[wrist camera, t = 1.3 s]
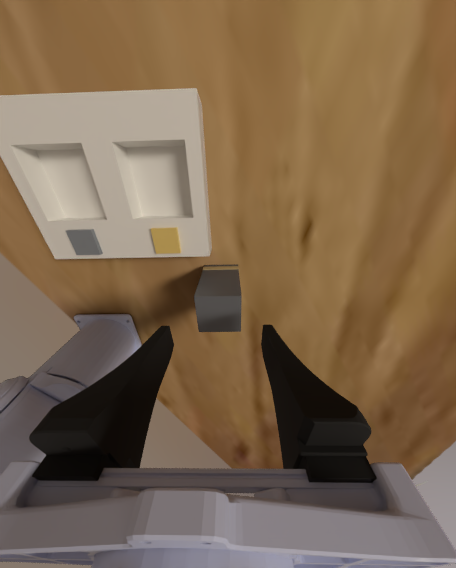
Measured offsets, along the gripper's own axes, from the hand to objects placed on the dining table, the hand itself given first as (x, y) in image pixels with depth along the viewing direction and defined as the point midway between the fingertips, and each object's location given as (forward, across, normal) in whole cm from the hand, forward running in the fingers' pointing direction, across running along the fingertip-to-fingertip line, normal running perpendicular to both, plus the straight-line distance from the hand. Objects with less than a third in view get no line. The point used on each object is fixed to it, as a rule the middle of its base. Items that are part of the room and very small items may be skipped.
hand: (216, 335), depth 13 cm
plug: (+10, 0, 0) cm, 10 cm away
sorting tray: (+9, +9, -10) cm, 16 cm away
